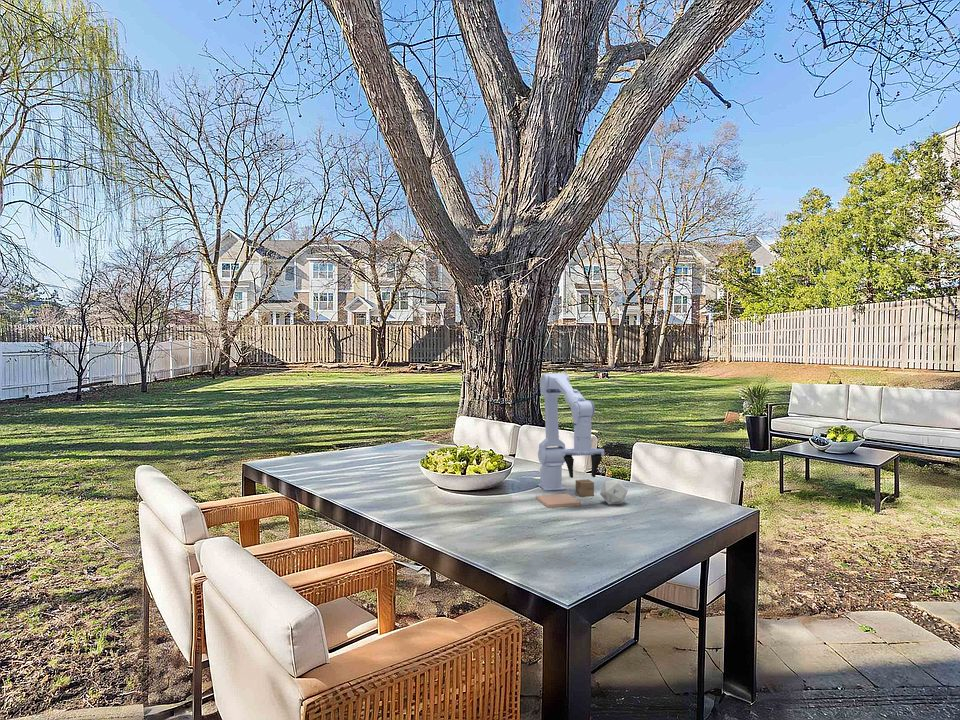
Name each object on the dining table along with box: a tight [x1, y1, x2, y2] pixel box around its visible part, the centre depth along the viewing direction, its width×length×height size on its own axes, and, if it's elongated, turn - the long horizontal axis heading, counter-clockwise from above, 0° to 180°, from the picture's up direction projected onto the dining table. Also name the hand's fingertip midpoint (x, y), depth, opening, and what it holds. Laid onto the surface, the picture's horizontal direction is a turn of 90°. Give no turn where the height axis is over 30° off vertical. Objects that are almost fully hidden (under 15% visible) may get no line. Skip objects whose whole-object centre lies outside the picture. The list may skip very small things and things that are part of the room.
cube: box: [575, 479, 595, 498], centre depth 211 cm, size 5×5×5 cm
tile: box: [535, 493, 582, 509], centre depth 201 cm, size 12×12×1 cm
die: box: [599, 479, 628, 506], centre depth 200 cm, size 8×9×10 cm
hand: (582, 476), depth 196 cm, fingers open, 7 cm apart
